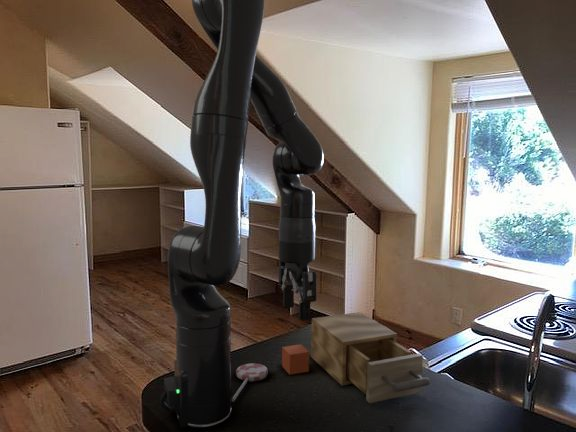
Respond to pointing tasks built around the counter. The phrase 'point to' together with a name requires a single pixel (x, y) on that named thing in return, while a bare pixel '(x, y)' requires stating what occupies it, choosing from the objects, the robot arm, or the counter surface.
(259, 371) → the lollipop
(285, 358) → the block
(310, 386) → the counter surface
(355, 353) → the drawer
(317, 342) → the cabinet
